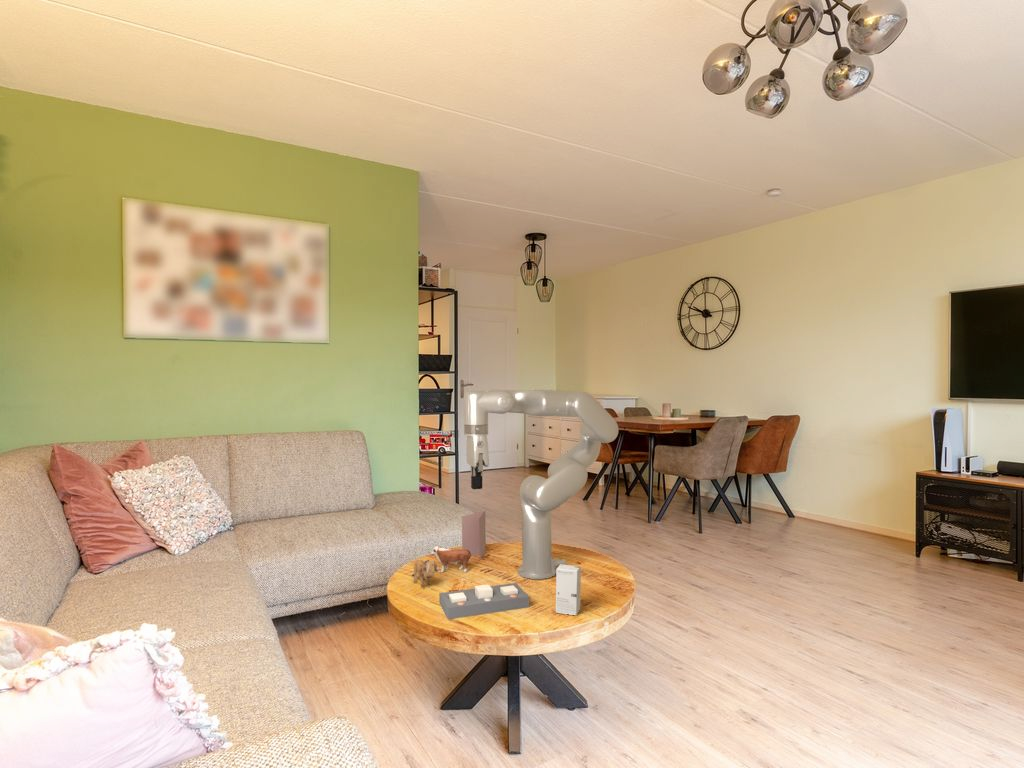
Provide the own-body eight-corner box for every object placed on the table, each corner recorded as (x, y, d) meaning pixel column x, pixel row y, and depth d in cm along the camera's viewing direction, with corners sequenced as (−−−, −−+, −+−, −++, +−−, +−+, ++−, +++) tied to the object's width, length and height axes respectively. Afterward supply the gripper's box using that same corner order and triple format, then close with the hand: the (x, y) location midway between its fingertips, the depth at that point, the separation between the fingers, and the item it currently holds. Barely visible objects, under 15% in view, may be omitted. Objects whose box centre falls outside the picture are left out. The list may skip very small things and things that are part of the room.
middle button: (488, 596, 160) (488, 584, 160) (492, 601, 157) (492, 589, 157) (475, 598, 159) (474, 586, 159) (478, 603, 155) (478, 591, 155)
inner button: (513, 597, 163) (513, 585, 163) (518, 602, 159) (518, 590, 159) (500, 599, 162) (500, 587, 162) (504, 604, 158) (504, 592, 158)
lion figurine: (442, 588, 171) (441, 559, 171) (426, 593, 168) (426, 563, 167) (419, 575, 182) (418, 547, 182) (404, 579, 179) (403, 551, 179)
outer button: (463, 604, 158) (462, 592, 158) (466, 610, 154) (466, 597, 154) (449, 606, 157) (448, 594, 157) (452, 612, 153) (452, 599, 153)
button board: (516, 592, 167) (515, 582, 167) (529, 607, 156) (529, 595, 156) (439, 603, 159) (439, 592, 159) (447, 619, 149) (447, 607, 149)
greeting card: (484, 550, 208) (483, 510, 208) (498, 554, 203) (497, 513, 202) (460, 558, 200) (460, 516, 199) (474, 562, 194) (474, 519, 194)
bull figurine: (432, 568, 189) (432, 544, 189) (471, 569, 188) (471, 544, 188) (429, 572, 185) (428, 548, 185) (469, 573, 184) (469, 548, 184)
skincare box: (555, 613, 152) (554, 568, 152) (559, 606, 156) (559, 563, 156) (577, 616, 150) (577, 571, 150) (581, 610, 154) (581, 566, 154)
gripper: (494, 431, 171) (495, 492, 171) (481, 427, 185) (481, 483, 185) (470, 432, 168) (471, 494, 168) (458, 428, 182) (459, 485, 183)
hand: (476, 488), depth 177 cm, fingers closed
